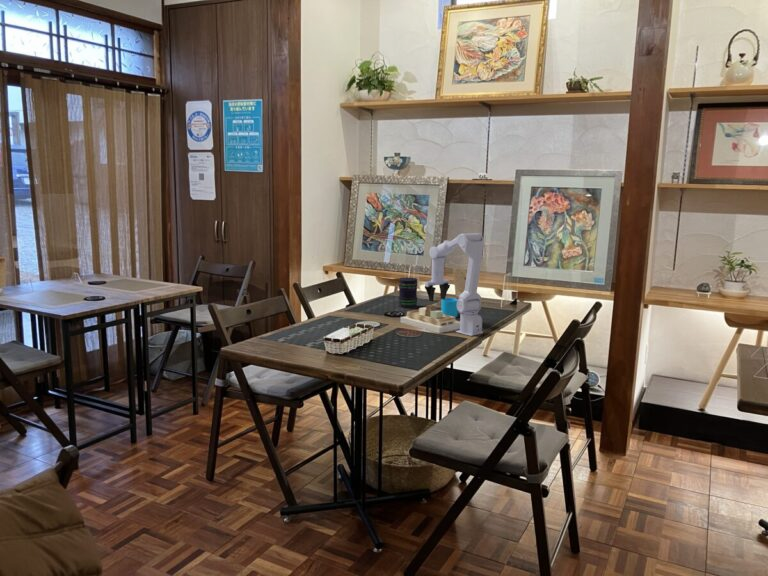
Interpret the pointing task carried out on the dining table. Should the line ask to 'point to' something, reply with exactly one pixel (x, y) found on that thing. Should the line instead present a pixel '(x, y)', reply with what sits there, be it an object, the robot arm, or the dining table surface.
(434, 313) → the pale green block
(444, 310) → the mug
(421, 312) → the off-white square block
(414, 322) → the dock
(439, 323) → the tan open box
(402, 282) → the storage jar
